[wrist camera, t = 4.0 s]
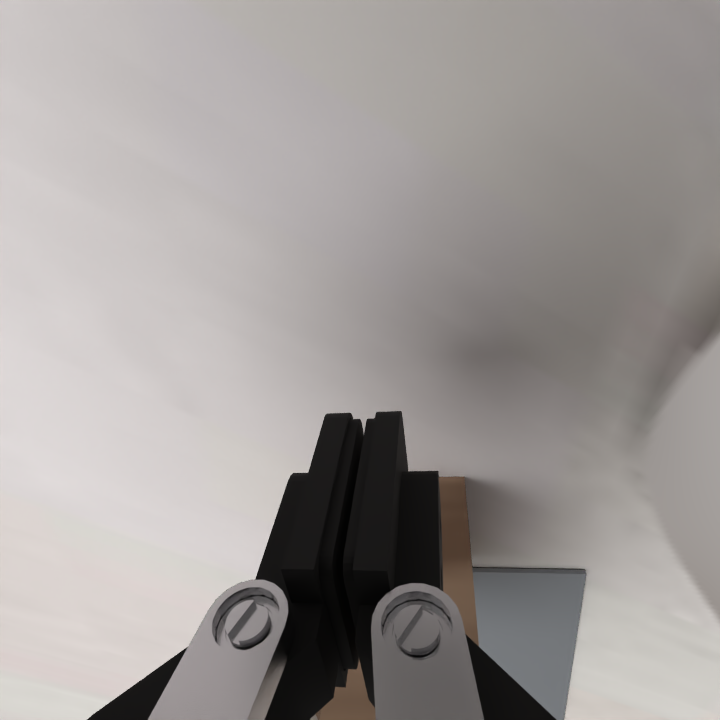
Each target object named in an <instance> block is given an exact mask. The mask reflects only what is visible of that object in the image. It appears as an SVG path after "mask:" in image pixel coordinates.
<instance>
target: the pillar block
mask: <svg viewBox="0 0 720 720" xmlns="http://www.w3.org/2000/svg"><path fill="white" fill-rule="evenodd" d="M439 487H440V503H441V523H442V557H443V592H444V593H446V594H447V595H449V597H450V598H451V599H452V600H453V602H454V603H455V604H456V605H457V607H458V610H459V612H460V615H461V617H462V621H463V626H464V630H465V634H466V635H467V636H468V637H469V638H470V639H471V640H473V641H474V642H475V643H476V644H477V645H478V646H479V641H478V630H477V618H476V606H475V595H474V583H473V572H472V560H471V548H470V537H469V525H468V513H467V502H466V490H465V479H464V477H439ZM320 720H376V716H375V707H374V706H373V705H372V704H371V702H370V701H369V699H368V695H367V690H366V686H365V682H364V677H363V673H362V669H361V664H360V660H359V662H358V667H357V669H356V670H355V669H348V674H347V682H346V688H345V687H335V692H334V698H333V699H332V700H331V701H329V702H328V703H327V704H326V705H325V706H324V707H323V708H322V709H321V714H320Z"/></svg>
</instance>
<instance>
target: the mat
mask: <svg viewBox="0 0 720 720" xmlns="http://www.w3.org/2000/svg"><path fill="white" fill-rule="evenodd" d="M472 572H473V583H474V595H475V606H476V618H477V630H478V641H479V647H480V648H481V649H482V650H483V651H484V652H485V653H486V654H487V655H488V656H490V657H491V658H492V659H493V660H494V661H495V662H496V663H497V664H498V665H499V666H500V667H501V668H502V669H503V670H504V671H505V672H507V673H508V674H509V675H510V676H511V677H512V678H513V679H514V680H515V681H516V682H517V683H518V684H519V685H520V686H521V687H522V688H524V689H525V690H526V691H527V692H528V693H529V694H530V695H531V696H532V697H533V698H534V699H535V700H536V701H537V702H538V703H539V704H541V705H542V706H543V707H544V708H545V709H546V710H547V711H548V712H549V713H550V714H551V715H552V716H553V717H554V718H555V719H556V720H564V715H565V709H566V702H567V696H568V689H569V683H570V676H571V670H572V663H573V657H574V650H575V644H576V637H577V631H578V624H579V618H580V611H581V605H582V598H583V592H584V585H585V579H586V572H585V570H567V569H509V568H472Z"/></svg>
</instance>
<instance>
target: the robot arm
mask: <svg viewBox="0 0 720 720" xmlns="http://www.w3.org/2000/svg"><path fill="white" fill-rule="evenodd" d="M359 660H360V664H361V669H362V673H363V677H364V682H365V686H366V690H367V695H368V699H369V701H370V702H371V704H372V705H373V706H374V707H375V716H376V720H556V719H555V718H554V717H553V716H552V715H551V714H550V713H549V712H548V711H547V710H546V709H545V708H544V707H543V706H542V705H541V704H539V703H538V702H537V701H536V700H535V699H534V698H533V697H532V696H531V695H530V694H529V693H528V692H527V691H526V690H525V689H524V688H522V687H521V686H520V685H519V684H518V683H517V682H516V681H515V680H514V679H513V678H512V677H511V676H510V675H509V674H508V673H507V672H505V671H504V670H503V669H502V668H501V667H500V666H499V665H498V664H497V663H496V662H495V661H494V660H493V659H492V658H491V657H490V656H488V655H487V654H486V653H485V652H484V651H483V650H482V649H481V648H480V647H479V646H478V645H477V644H476V643H475V642H474V641H473V640H471V639H470V638H469V637H468V636H467V635H466V634H465V630H464V626H463V621H462V617H461V615H460V612H459V610H458V607H457V605H456V604H455V603H454V602H453V600H452V599H451V598H450V597H449V595H447V594H446V593H444V592H443V557H442V523H441V503H440V487H439V474H438V471H410V472H408V464H407V454H406V445H405V436H404V427H403V418H402V412H401V411H391V412H376V416H375V419H367V421H366V427H365V433H364V434H363V428H362V422H361V420H360V419H353V417H352V414H351V413H333V414H326V415H325V417H324V421H323V424H322V428H321V431H320V435H319V438H318V441H317V445H316V448H315V452H314V455H313V459H312V462H311V466H310V469H309V472H308V473H293V474H292V475H291V476H290V478H289V480H288V483H287V486H286V489H285V492H284V495H283V498H282V501H281V504H280V507H279V510H278V513H277V516H276V519H275V522H274V525H273V528H272V531H271V534H270V537H269V540H268V543H267V546H266V549H265V552H264V555H263V558H262V561H261V564H260V567H259V570H258V573H257V576H256V579H255V580H248V581H245V582H241V583H238V584H236V585H234V586H233V587H231V588H229V589H227V590H226V591H225V592H224V593H222V594H221V595H220V596H219V597H218V598H217V599H216V600H215V602H214V603H213V604H212V606H211V607H210V608H209V610H208V612H207V613H206V615H205V617H204V619H203V621H202V622H201V624H200V626H199V628H198V630H197V632H196V633H195V635H194V637H193V639H192V641H191V642H190V644H189V646H188V647H187V648H185V649H184V650H183V651H181V652H180V653H178V654H177V655H176V656H174V657H173V658H171V659H170V660H169V661H167V662H166V663H164V664H163V665H162V666H160V667H159V668H157V669H156V670H155V671H153V672H152V673H150V674H149V675H148V676H146V677H145V678H144V679H142V680H141V681H139V682H138V683H137V684H135V685H134V686H132V687H131V688H130V689H128V690H127V691H125V692H124V693H123V694H121V695H120V696H118V697H117V698H116V699H114V700H113V701H111V702H110V703H109V704H107V705H106V706H104V707H103V708H102V709H100V710H99V711H97V712H96V713H95V714H93V715H92V716H91V717H90V718H89V719H87V720H320V714H321V709H322V708H323V707H324V706H325V705H326V704H327V703H328V702H329V701H331V700H332V699H333V698H334V692H335V687H345V688H346V682H347V674H348V669H355V670H356V669H357V667H358V662H359Z"/></svg>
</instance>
